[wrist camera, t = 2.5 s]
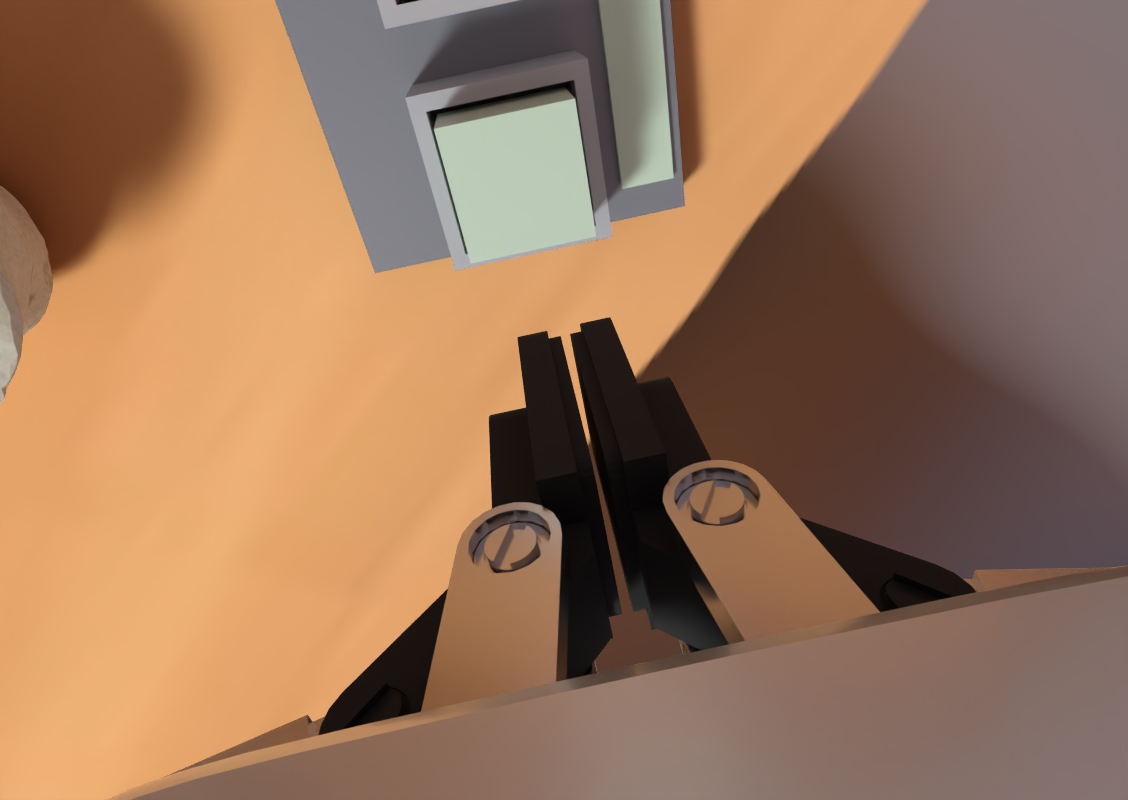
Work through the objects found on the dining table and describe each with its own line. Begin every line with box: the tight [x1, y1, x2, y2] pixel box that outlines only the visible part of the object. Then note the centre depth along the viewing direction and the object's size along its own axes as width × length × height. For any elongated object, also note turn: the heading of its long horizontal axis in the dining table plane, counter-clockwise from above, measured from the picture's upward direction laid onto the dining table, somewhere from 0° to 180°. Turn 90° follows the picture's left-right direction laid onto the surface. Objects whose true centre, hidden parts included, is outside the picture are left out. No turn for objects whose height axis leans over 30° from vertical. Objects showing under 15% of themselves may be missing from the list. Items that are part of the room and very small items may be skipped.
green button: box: [434, 87, 596, 263], centre depth 25 cm, size 5×5×3 cm
